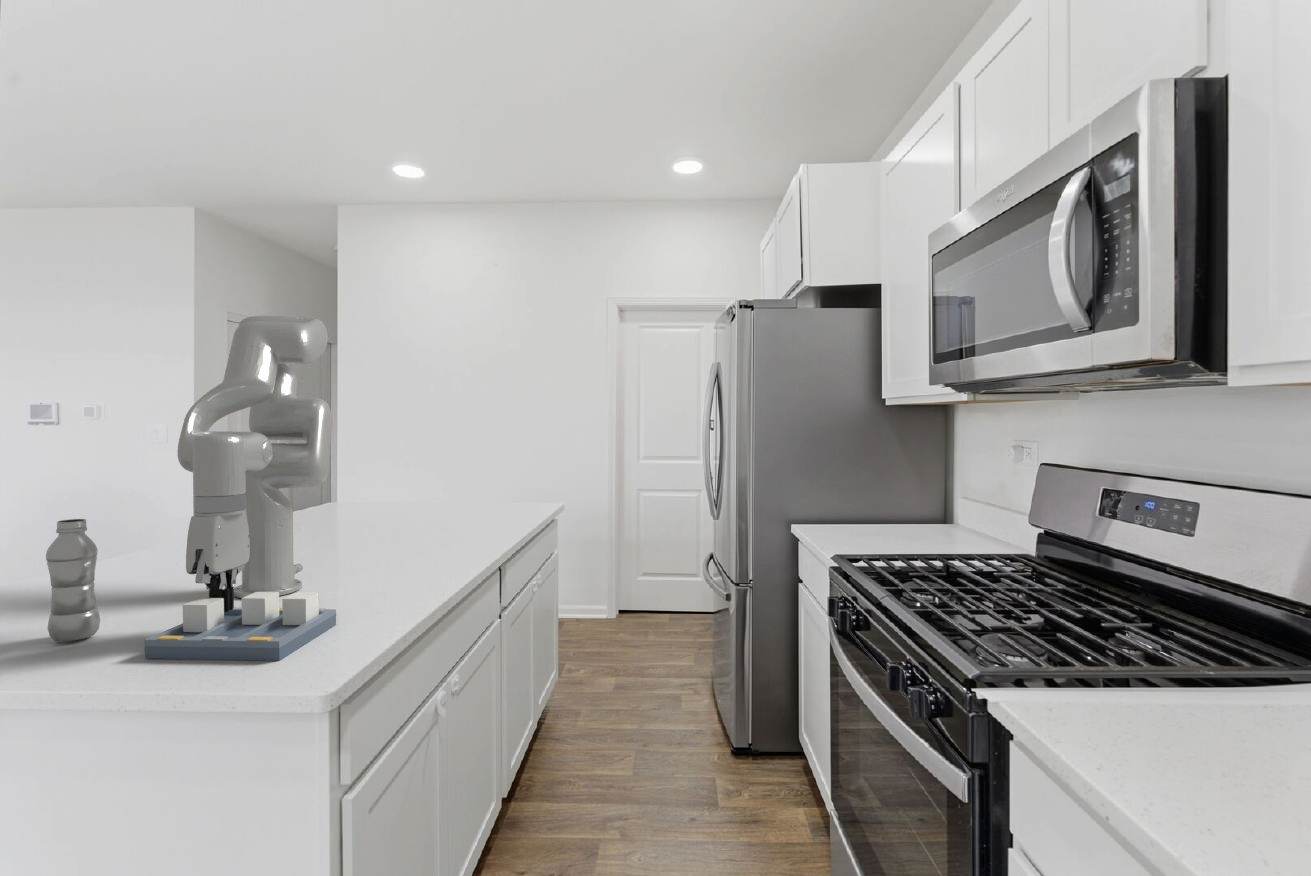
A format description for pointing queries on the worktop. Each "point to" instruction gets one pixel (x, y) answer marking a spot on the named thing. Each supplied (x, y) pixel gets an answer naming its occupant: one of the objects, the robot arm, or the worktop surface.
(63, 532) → the plastic bottle
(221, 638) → the switch bank
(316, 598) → the tab
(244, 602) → the tab
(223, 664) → the worktop surface
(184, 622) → the tab
